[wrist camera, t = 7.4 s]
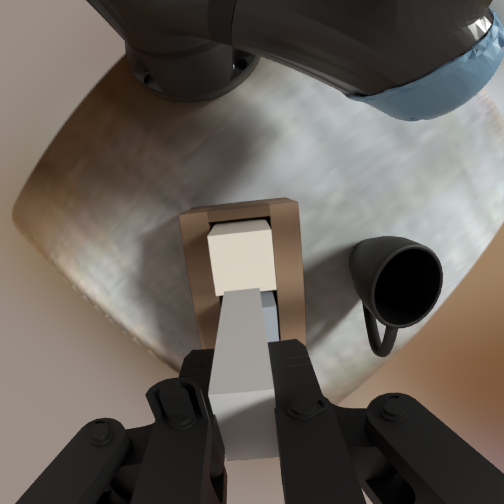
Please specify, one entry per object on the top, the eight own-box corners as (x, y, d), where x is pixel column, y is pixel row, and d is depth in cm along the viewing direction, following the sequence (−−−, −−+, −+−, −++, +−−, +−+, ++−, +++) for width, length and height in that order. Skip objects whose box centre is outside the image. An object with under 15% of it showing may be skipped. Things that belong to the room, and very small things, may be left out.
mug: (322, 318, 35) (346, 361, 26) (346, 220, 32) (384, 236, 23) (380, 324, 35) (414, 362, 26) (406, 233, 33) (452, 252, 24)
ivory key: (216, 222, 27) (207, 236, 21) (264, 217, 27) (271, 229, 21) (222, 268, 28) (216, 295, 22) (268, 263, 28) (276, 289, 22)
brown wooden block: (192, 207, 31) (179, 215, 25) (286, 197, 31) (298, 202, 25) (218, 367, 36) (214, 402, 29) (296, 359, 36) (306, 393, 29)
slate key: (226, 283, 31) (221, 311, 24) (268, 278, 31) (276, 306, 24) (231, 321, 32) (228, 356, 25) (272, 317, 32) (279, 351, 25)
